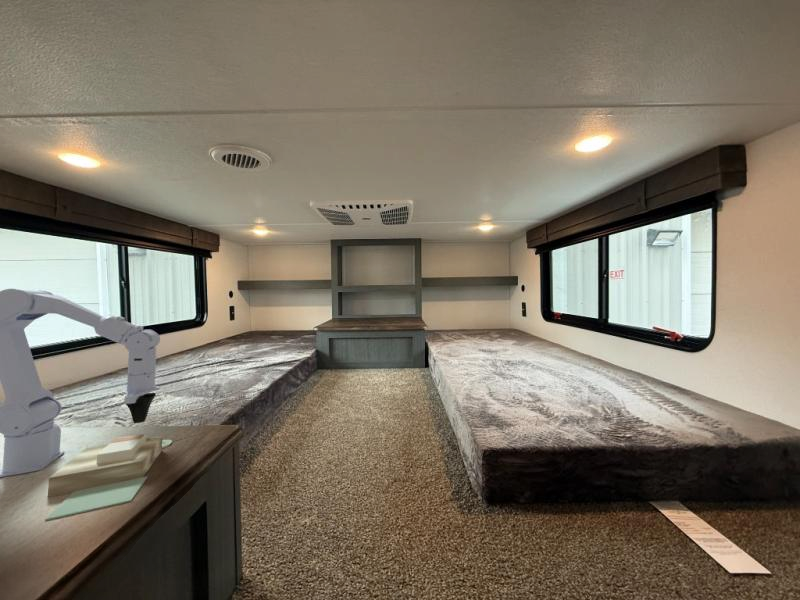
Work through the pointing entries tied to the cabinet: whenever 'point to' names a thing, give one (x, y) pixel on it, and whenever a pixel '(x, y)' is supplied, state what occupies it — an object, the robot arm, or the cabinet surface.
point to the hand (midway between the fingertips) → (139, 421)
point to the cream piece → (103, 468)
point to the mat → (98, 498)
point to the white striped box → (121, 448)
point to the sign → (166, 443)
